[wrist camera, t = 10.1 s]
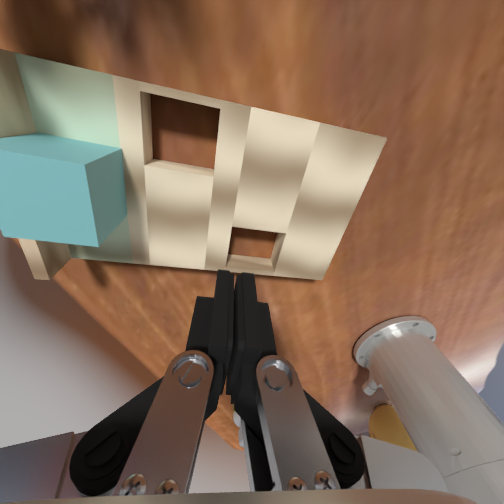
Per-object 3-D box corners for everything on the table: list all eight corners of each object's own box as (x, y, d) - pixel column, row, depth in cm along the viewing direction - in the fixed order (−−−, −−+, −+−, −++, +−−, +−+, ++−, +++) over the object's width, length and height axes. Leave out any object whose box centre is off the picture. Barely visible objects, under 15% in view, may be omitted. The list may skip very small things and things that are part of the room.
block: (127, 214, 18) (98, 247, 14) (56, 204, 17) (3, 236, 13) (121, 148, 16) (84, 164, 12) (38, 132, 15) (-36, 143, 11)
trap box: (314, 266, 26) (333, 300, 22) (74, 242, 22) (34, 278, 17) (370, 134, 19) (415, 143, 15) (25, 55, 14) (-66, 33, 10)
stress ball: (385, 389, 48) (365, 434, 44) (441, 426, 43) (424, 483, 38) (375, 401, 55) (356, 441, 50) (421, 435, 49) (405, 483, 45)
